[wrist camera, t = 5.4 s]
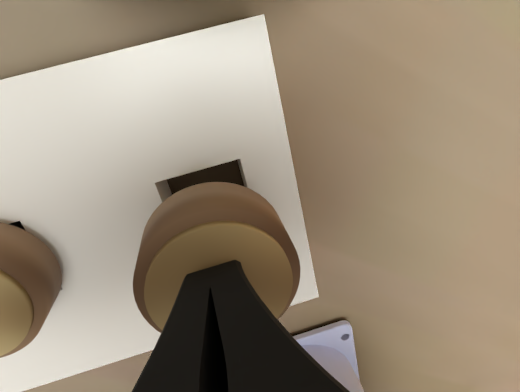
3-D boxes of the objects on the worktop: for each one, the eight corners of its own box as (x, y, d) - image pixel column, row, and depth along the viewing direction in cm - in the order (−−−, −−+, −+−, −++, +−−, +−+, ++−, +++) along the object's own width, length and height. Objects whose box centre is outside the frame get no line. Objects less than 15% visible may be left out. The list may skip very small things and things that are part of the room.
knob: (277, 242, 14) (314, 325, 10) (172, 274, 14) (166, 373, 10) (253, 140, 12) (287, 193, 8) (130, 175, 12) (100, 247, 8)
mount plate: (302, 265, 18) (318, 297, 16) (-150, 406, 17) (-202, 462, 14) (251, 18, 13) (264, 14, 11) (-419, 185, 11) (-569, 221, 9)
